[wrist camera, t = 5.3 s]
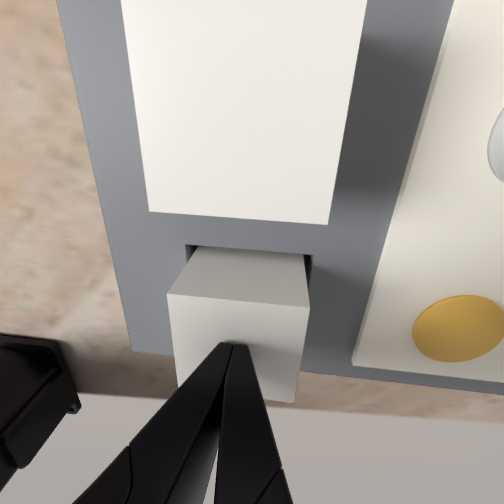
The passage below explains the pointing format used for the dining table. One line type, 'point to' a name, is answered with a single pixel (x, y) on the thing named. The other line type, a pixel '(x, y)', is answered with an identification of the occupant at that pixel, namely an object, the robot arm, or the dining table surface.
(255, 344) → the button
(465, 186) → the button panel
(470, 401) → the dining table surface
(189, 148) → the middle button
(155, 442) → the robot arm
